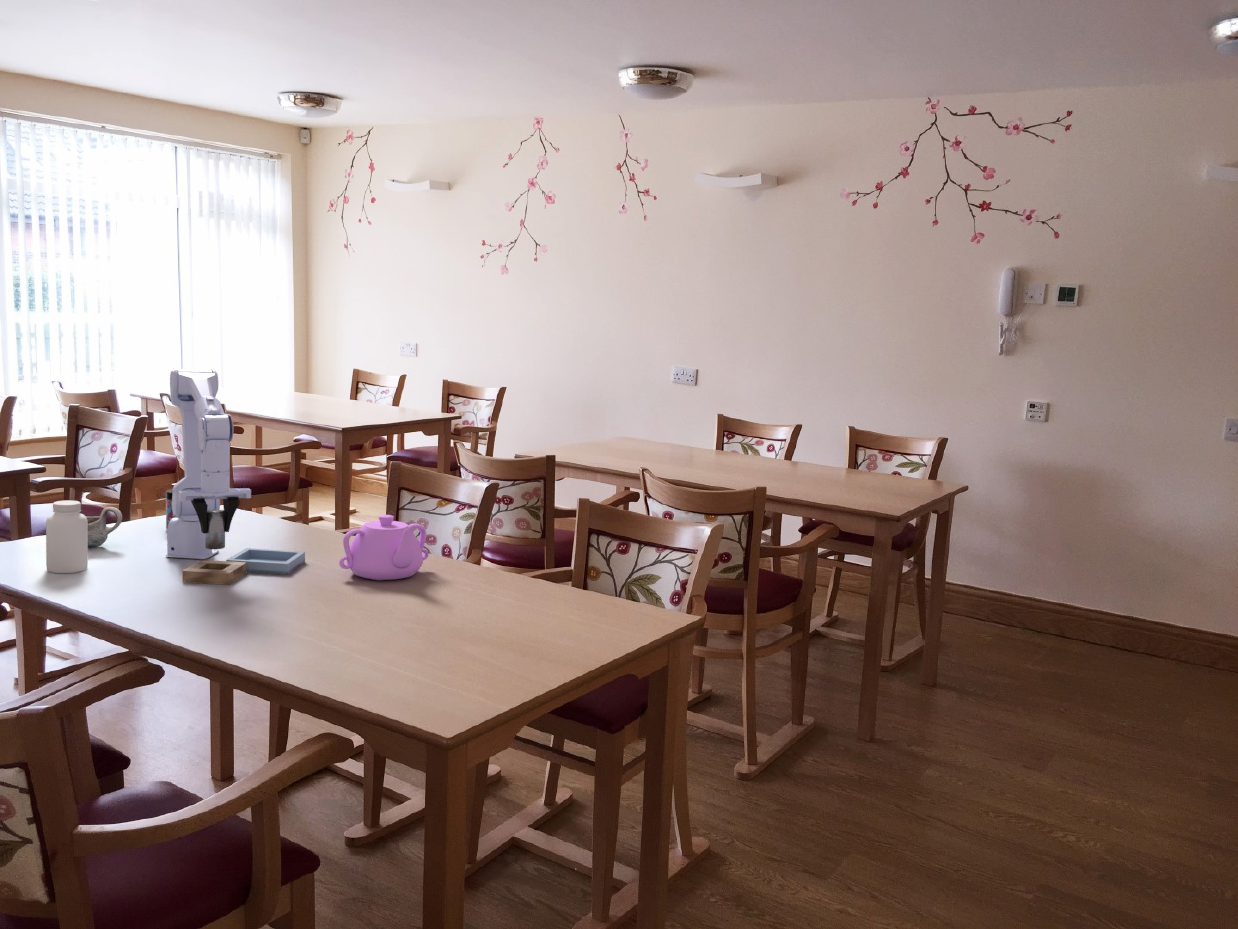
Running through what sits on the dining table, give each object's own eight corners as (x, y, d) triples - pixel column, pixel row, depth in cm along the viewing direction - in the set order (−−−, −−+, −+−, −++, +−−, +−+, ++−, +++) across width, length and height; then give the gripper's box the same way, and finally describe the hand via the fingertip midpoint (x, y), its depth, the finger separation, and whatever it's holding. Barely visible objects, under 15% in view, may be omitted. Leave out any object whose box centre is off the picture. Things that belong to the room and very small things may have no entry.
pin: (202, 548, 217) (202, 512, 216) (209, 544, 221) (210, 509, 220) (220, 549, 217) (220, 513, 216) (227, 545, 221) (228, 510, 220)
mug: (64, 544, 241) (64, 503, 239) (123, 542, 246) (122, 502, 245) (61, 553, 232) (61, 511, 231) (122, 551, 238) (121, 510, 236)
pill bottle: (86, 573, 217) (84, 505, 215) (43, 575, 214) (42, 506, 212) (90, 564, 225) (89, 498, 222) (49, 565, 222) (48, 499, 219)
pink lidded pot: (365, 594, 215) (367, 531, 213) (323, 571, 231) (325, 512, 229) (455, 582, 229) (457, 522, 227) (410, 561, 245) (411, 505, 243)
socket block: (182, 582, 215) (182, 570, 215) (202, 570, 225) (202, 559, 225) (228, 584, 215) (228, 573, 215) (246, 573, 225) (246, 562, 225)
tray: (226, 570, 226) (226, 560, 226) (246, 558, 238) (246, 548, 238) (287, 574, 226) (288, 563, 226) (304, 562, 238) (305, 551, 238)
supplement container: (172, 526, 266) (172, 487, 265) (198, 528, 266) (198, 489, 265) (161, 531, 260) (161, 492, 258) (187, 533, 260) (187, 493, 258)
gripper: (183, 474, 210) (183, 538, 211) (254, 472, 218) (254, 533, 220) (176, 469, 215) (176, 531, 217) (246, 467, 223) (245, 526, 225)
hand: (215, 531), depth 219 cm, fingers closed on pin, 4 cm apart
